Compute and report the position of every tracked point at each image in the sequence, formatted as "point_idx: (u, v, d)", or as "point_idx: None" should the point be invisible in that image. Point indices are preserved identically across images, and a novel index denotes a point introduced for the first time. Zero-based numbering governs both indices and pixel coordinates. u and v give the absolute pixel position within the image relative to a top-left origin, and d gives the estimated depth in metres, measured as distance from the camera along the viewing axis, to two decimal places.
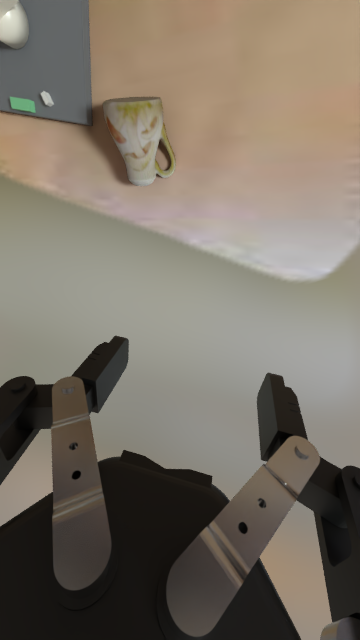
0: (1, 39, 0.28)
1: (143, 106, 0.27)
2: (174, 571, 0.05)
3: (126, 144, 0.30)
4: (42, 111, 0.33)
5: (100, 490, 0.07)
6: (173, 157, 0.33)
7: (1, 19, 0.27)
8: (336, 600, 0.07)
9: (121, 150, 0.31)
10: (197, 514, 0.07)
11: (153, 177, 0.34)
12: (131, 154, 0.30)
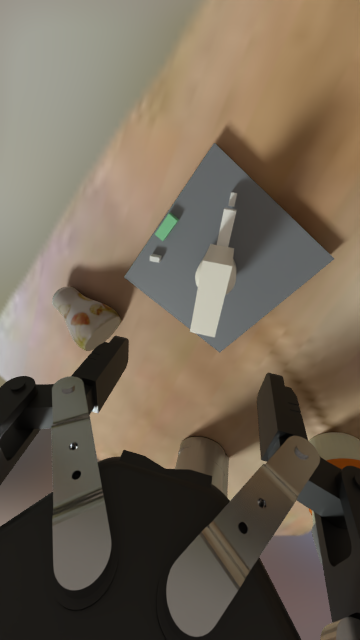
0: (199, 265, 0.26)
1: (82, 348, 0.34)
2: (174, 571, 0.05)
3: (70, 320, 0.33)
4: (154, 241, 0.29)
5: (100, 490, 0.07)
6: None
7: None
8: (336, 600, 0.07)
9: (73, 309, 0.33)
10: (197, 514, 0.07)
11: None
12: (66, 316, 0.33)
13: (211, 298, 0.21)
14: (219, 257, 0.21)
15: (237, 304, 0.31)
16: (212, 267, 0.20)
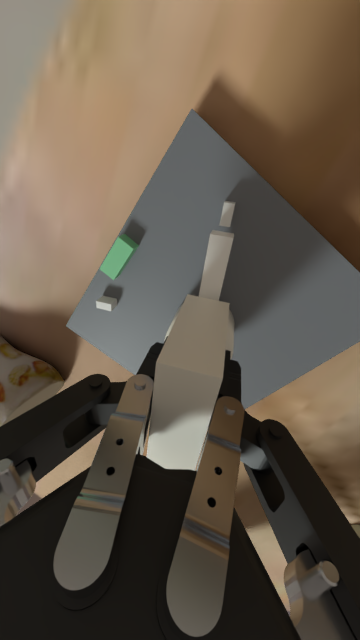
0: (171, 324, 0.16)
1: None
2: (174, 571, 0.05)
3: None
4: (102, 278, 0.18)
5: (122, 499, 0.06)
6: None
7: None
8: (283, 539, 0.08)
9: None
10: None
11: None
12: None
13: (180, 425, 0.10)
14: (198, 341, 0.10)
15: None
16: (178, 376, 0.09)
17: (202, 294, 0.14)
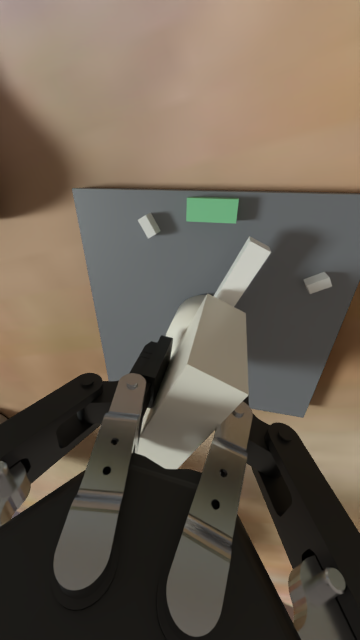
0: (178, 316, 0.15)
1: None
2: (174, 571, 0.05)
3: None
4: (171, 201, 0.14)
5: (120, 497, 0.07)
6: None
7: (176, 344, 0.16)
8: (289, 544, 0.08)
9: None
10: None
11: None
12: None
13: (183, 426, 0.10)
14: (223, 348, 0.10)
15: None
16: (203, 382, 0.09)
17: (220, 296, 0.14)
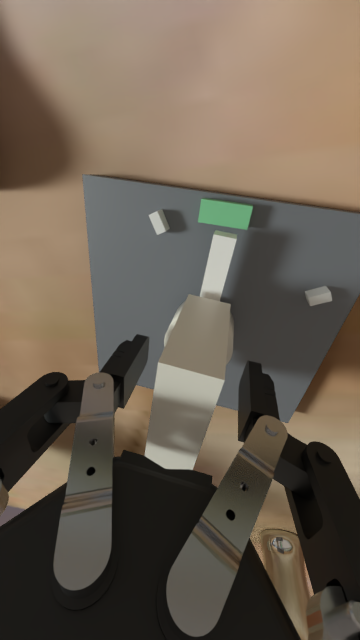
0: (171, 323, 0.16)
1: None
2: (174, 571, 0.05)
3: None
4: (184, 200, 0.14)
5: (110, 492, 0.07)
6: None
7: None
8: (314, 570, 0.08)
9: None
10: (197, 514, 0.07)
11: None
12: None
13: (179, 425, 0.10)
14: (200, 341, 0.10)
15: None
16: (179, 377, 0.09)
17: (203, 294, 0.14)
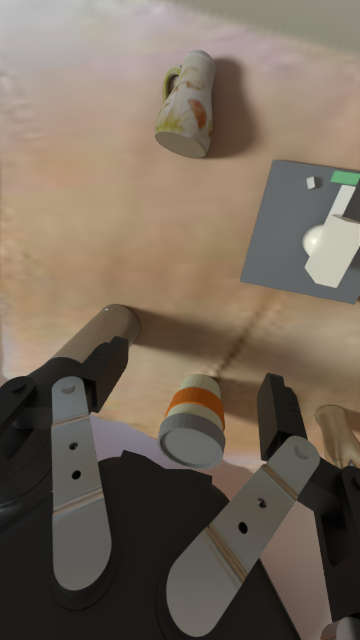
0: (311, 233, 0.32)
1: (160, 126, 0.28)
2: (174, 571, 0.05)
3: (190, 96, 0.27)
4: (324, 172, 0.31)
5: (100, 490, 0.07)
6: (163, 88, 0.31)
7: (313, 247, 0.32)
8: (336, 600, 0.07)
9: (202, 95, 0.27)
10: (197, 514, 0.07)
11: None
12: (190, 86, 0.27)
13: (343, 253, 0.27)
14: (352, 221, 0.26)
15: (292, 269, 0.37)
16: (352, 227, 0.25)
17: (333, 215, 0.31)
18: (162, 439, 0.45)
